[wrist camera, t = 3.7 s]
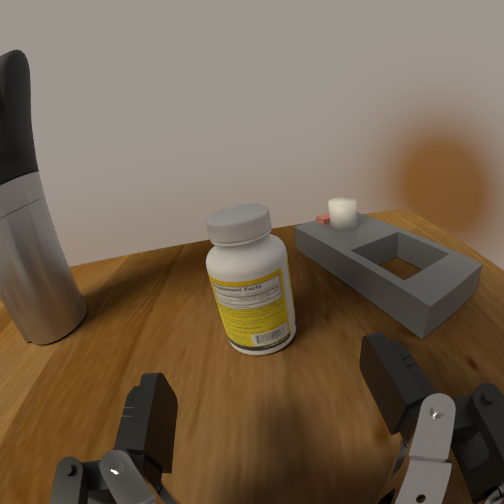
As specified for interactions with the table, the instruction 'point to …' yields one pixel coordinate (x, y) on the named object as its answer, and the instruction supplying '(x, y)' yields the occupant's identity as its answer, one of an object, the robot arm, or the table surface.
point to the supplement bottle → (251, 279)
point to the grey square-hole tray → (382, 250)
